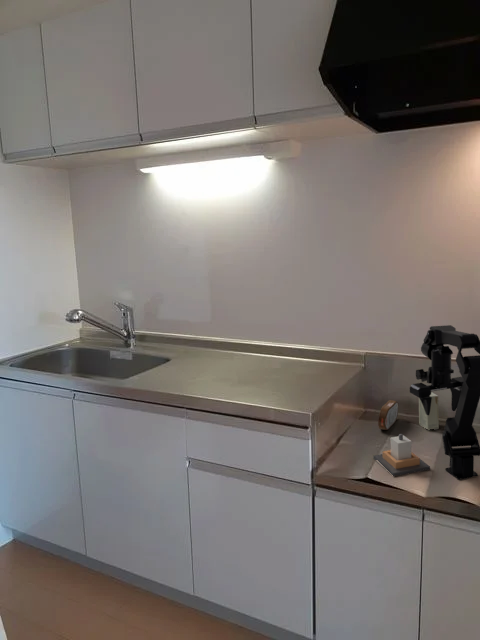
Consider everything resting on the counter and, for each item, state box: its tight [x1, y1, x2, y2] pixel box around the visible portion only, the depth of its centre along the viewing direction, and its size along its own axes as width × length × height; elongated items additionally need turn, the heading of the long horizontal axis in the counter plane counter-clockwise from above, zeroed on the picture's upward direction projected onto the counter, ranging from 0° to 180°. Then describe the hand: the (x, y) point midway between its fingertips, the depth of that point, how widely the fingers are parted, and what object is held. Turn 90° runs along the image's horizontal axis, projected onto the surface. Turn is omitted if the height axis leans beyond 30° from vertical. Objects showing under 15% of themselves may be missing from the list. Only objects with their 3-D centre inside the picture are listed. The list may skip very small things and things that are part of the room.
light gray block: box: [390, 433, 412, 461], centre depth 157 cm, size 4×4×8 cm
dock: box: [372, 449, 431, 477], centre depth 158 cm, size 12×12×3 cm
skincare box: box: [418, 391, 440, 431], centre depth 182 cm, size 6×4×12 cm
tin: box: [377, 399, 399, 431], centre depth 185 cm, size 15×3×8 cm, turn 146°
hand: (440, 412), depth 164 cm, fingers open, 9 cm apart
